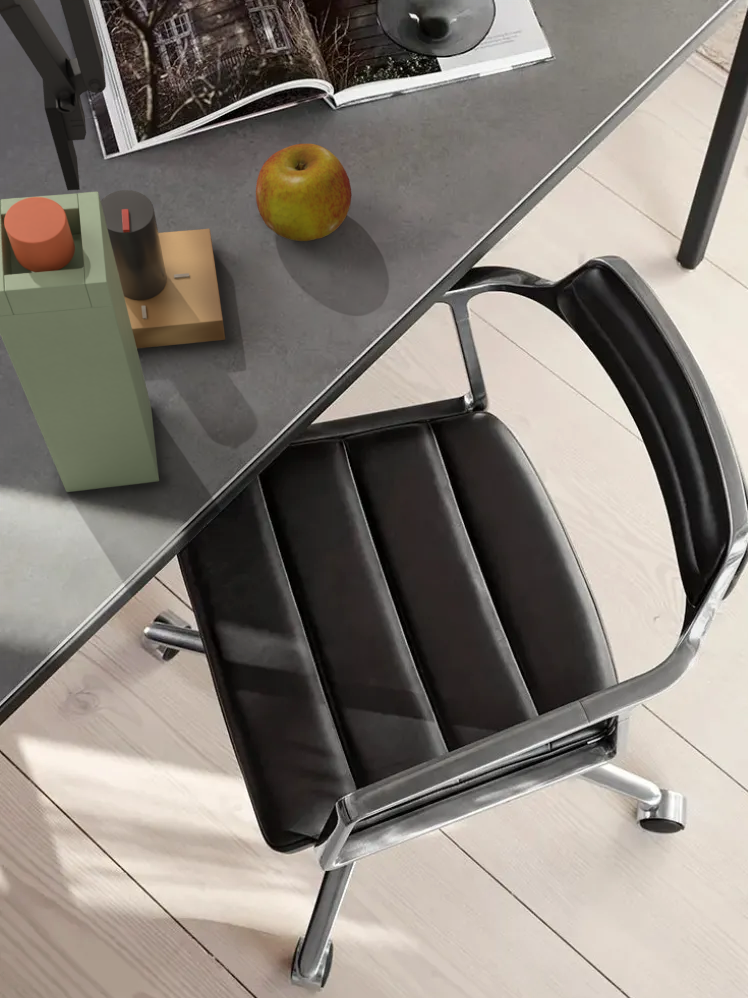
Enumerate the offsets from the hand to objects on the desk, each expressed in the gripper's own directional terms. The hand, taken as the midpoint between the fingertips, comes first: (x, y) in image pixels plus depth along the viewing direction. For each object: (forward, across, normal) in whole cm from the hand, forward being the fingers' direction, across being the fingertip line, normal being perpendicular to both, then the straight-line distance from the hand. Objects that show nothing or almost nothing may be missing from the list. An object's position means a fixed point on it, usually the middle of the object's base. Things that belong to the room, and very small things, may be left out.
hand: (21, 177), depth 71 cm
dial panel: (+33, +4, +16) cm, 37 cm away
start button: (+7, 0, 0) cm, 7 cm away
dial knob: (+30, +4, +16) cm, 34 cm away
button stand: (+33, 0, 0) cm, 33 cm away
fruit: (+33, +21, +24) cm, 46 cm away
